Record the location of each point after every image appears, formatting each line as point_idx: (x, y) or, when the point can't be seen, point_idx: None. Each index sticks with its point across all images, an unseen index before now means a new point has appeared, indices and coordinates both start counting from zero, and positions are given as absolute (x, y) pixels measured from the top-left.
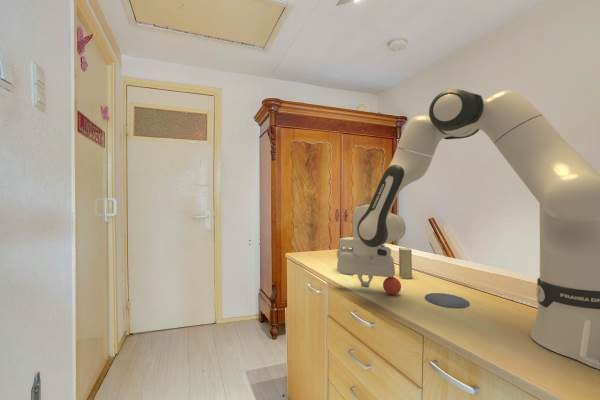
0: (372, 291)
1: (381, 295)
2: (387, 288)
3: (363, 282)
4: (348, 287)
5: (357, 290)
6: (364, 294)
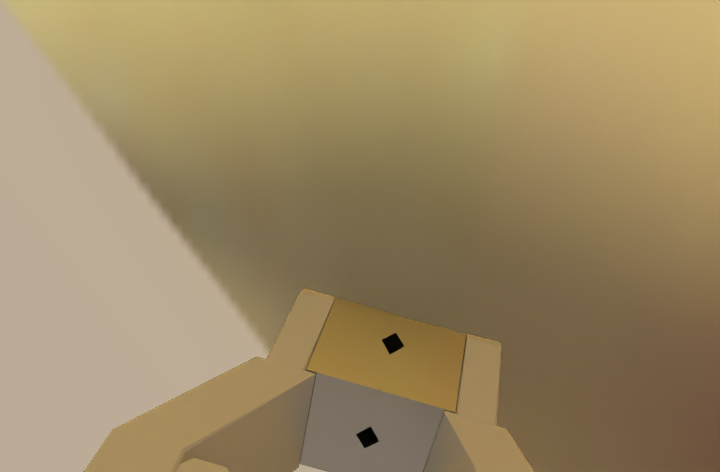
0: (571, 275)
1: (691, 462)
2: None
3: (317, 463)
4: (44, 47)
5: (253, 228)
6: None
